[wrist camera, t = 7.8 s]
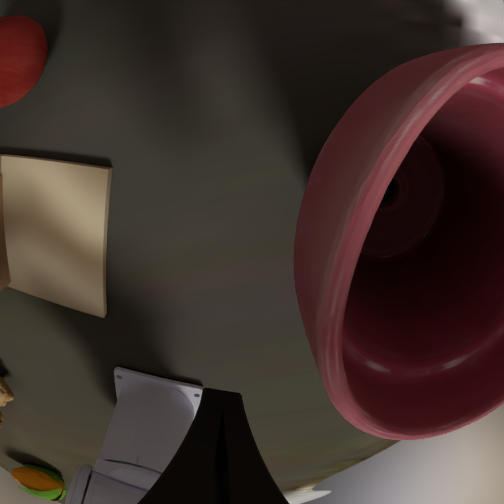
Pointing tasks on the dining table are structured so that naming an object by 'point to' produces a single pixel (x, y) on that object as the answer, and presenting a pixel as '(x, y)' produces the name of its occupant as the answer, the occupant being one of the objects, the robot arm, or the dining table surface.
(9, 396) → the ginger root
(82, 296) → the board
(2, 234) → the t block
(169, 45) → the dining table surface
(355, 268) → the plant pot
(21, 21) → the onion
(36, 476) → the corn
